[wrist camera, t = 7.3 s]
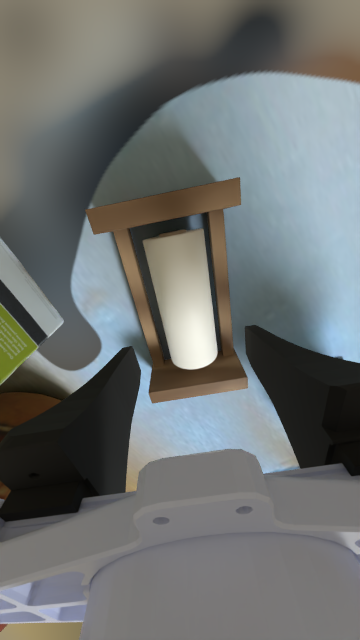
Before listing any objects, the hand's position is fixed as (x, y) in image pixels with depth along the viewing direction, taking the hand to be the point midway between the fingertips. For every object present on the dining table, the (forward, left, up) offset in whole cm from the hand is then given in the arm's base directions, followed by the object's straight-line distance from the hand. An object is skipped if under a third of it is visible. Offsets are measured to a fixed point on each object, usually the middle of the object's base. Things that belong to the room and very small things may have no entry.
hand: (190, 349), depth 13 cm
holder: (0, 0, -9) cm, 9 cm away
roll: (0, 0, -7) cm, 7 cm away
